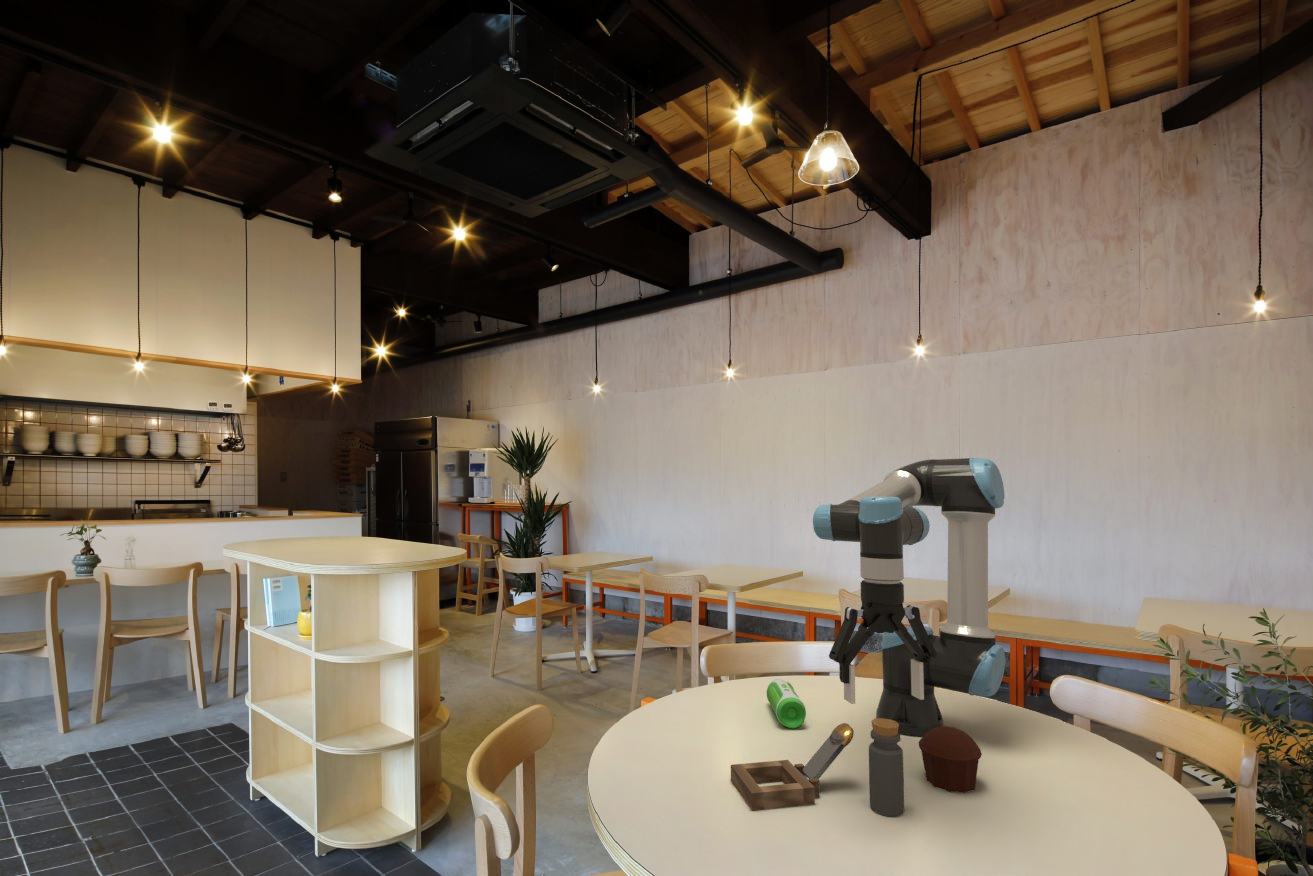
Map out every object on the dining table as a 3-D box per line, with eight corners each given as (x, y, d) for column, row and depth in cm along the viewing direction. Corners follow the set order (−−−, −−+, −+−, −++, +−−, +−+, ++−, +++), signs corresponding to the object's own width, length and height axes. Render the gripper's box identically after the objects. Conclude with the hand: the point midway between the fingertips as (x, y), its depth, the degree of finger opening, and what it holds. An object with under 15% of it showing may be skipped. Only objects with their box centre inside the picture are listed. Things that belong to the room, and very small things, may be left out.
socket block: (797, 774, 129) (797, 759, 129) (825, 803, 117) (824, 786, 117) (730, 780, 126) (730, 764, 126) (752, 811, 114) (752, 793, 114)
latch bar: (845, 723, 128) (841, 719, 128) (858, 732, 123) (854, 728, 123) (801, 777, 125) (797, 773, 125) (812, 788, 120) (808, 785, 120)
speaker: (808, 731, 152) (807, 698, 153) (777, 731, 152) (776, 698, 153) (793, 706, 170) (792, 676, 170) (765, 706, 170) (765, 676, 170)
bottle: (907, 818, 112) (905, 730, 113) (871, 815, 113) (870, 727, 114) (901, 802, 117) (899, 718, 119) (867, 799, 119) (866, 715, 120)
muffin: (934, 764, 134) (932, 715, 134) (991, 782, 126) (989, 729, 127) (909, 783, 125) (908, 730, 126) (968, 803, 118) (967, 746, 118)
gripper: (929, 576, 124) (932, 689, 123) (809, 579, 119) (810, 696, 118) (955, 582, 117) (958, 702, 115) (828, 584, 112) (830, 710, 110)
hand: (884, 699), depth 116 cm, fingers open, 13 cm apart
